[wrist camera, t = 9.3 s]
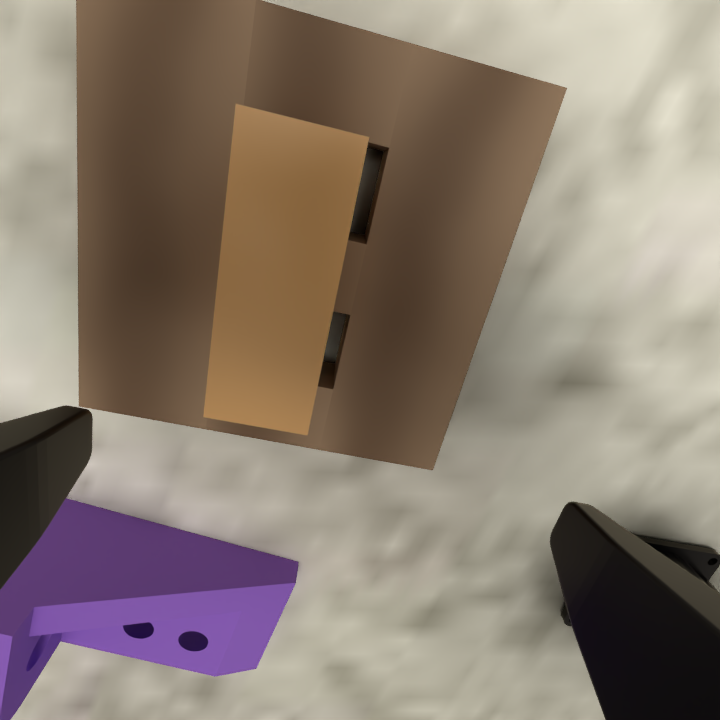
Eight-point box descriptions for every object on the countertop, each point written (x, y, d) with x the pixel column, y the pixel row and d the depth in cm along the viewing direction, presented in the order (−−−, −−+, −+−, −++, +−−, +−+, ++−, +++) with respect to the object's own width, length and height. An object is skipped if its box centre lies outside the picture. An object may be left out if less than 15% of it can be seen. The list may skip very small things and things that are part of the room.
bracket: (47, 589, 24) (-59, 735, 18) (65, 493, 22) (-50, 622, 16) (261, 641, 26) (232, 790, 20) (299, 558, 24) (280, 696, 17)
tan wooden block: (361, 150, 16) (369, 137, 10) (320, 353, 19) (307, 435, 13) (278, 130, 16) (235, 103, 10) (249, 339, 19) (203, 416, 13)
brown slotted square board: (534, 100, 16) (566, 88, 13) (423, 437, 21) (432, 470, 18) (120, -16, 14) (76, -53, 12) (110, 378, 19) (78, 406, 17)
